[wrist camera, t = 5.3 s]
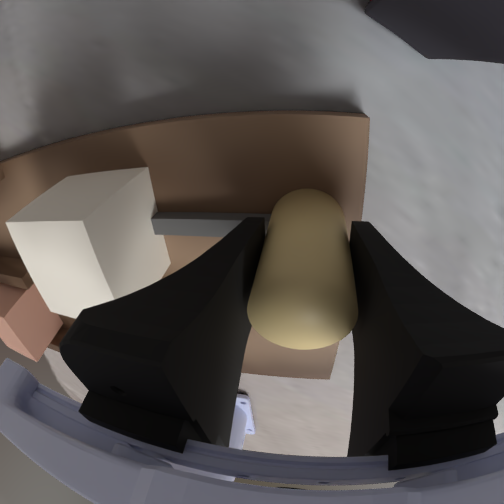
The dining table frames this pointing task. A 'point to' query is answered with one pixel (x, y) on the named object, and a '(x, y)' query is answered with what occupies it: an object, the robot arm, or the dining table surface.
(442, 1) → the calculator
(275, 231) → the tethered block
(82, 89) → the dining table surface
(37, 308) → the untied block
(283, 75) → the dining table surface
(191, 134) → the shelf
